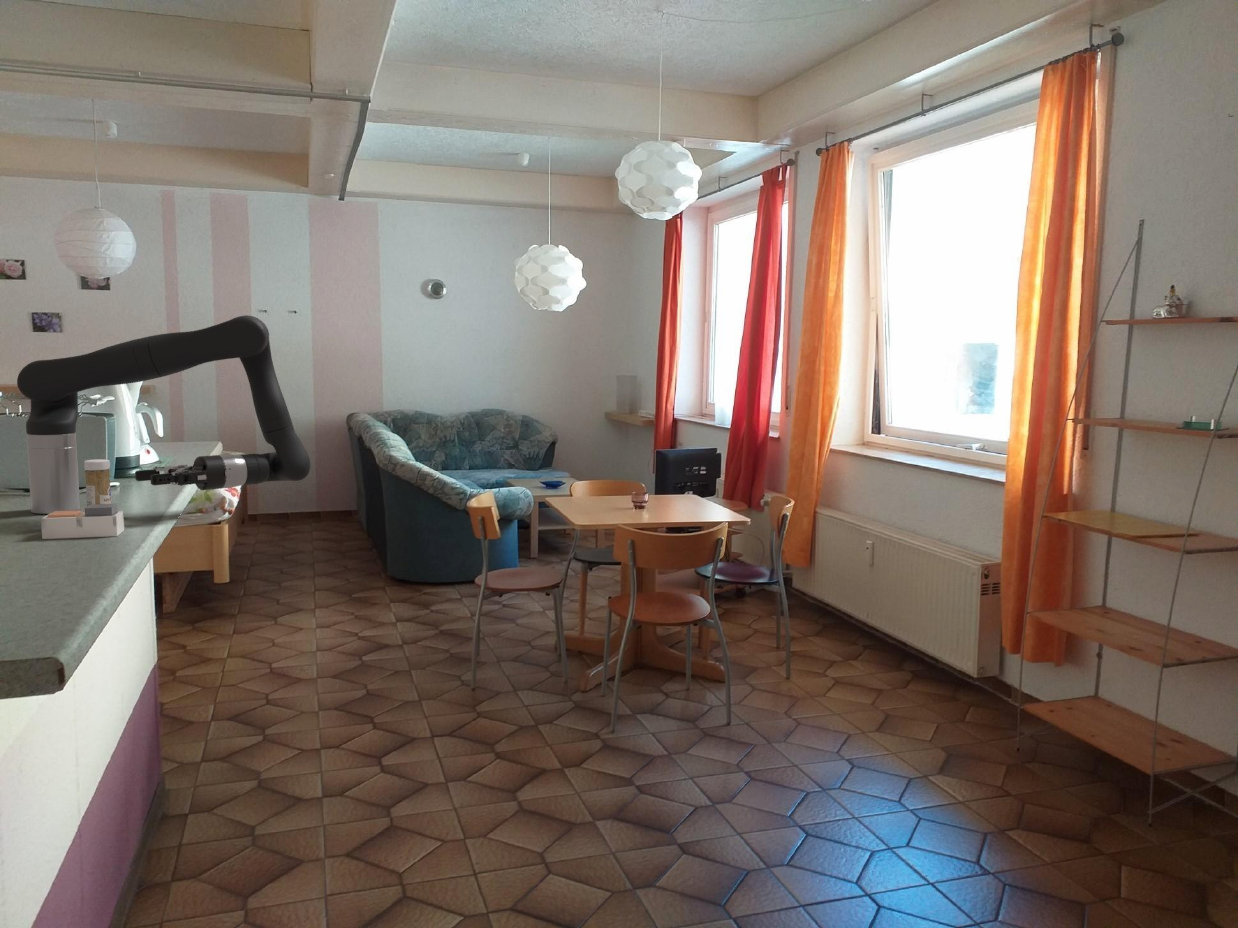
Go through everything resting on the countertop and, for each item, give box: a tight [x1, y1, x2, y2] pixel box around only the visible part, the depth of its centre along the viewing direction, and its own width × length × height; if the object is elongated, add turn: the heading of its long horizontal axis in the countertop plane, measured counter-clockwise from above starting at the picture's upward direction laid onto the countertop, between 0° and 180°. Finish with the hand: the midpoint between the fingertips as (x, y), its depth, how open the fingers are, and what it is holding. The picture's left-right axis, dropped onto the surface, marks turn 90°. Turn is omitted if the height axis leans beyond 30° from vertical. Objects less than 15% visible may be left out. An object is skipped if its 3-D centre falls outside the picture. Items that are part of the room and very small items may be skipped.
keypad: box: [40, 510, 125, 540], centre depth 175 cm, size 6×13×4 cm, turn 108°
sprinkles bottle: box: [83, 458, 112, 507], centre depth 184 cm, size 5×5×13 cm
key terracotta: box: [47, 509, 83, 518], centre depth 174 cm, size 5×5×2 cm
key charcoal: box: [84, 503, 118, 517], centre depth 176 cm, size 5×5×2 cm
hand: (143, 478), depth 190 cm, fingers open, 8 cm apart
